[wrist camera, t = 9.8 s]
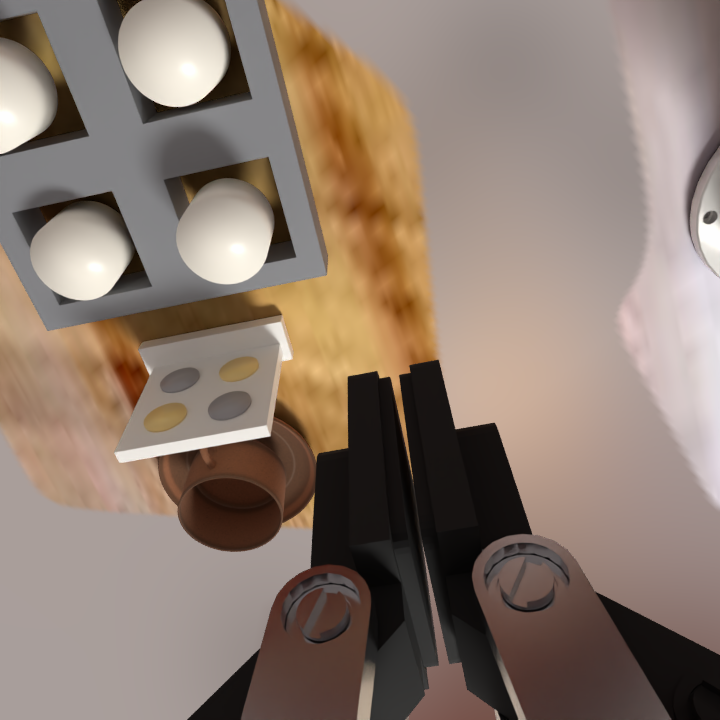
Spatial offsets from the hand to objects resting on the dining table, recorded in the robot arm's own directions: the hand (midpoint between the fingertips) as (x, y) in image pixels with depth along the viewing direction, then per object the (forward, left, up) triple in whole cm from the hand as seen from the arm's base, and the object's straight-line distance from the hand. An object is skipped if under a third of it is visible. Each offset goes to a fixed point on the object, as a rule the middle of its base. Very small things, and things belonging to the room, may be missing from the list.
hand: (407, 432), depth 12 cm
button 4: (+18, +4, -28) cm, 33 cm away
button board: (+13, -1, -29) cm, 32 cm away
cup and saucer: (+14, +23, -30) cm, 40 cm away
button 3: (+18, -5, -26) cm, 32 cm away
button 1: (+8, -5, -28) cm, 30 cm away
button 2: (+8, +4, -26) cm, 28 cm away
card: (+13, +13, -29) cm, 34 cm away
